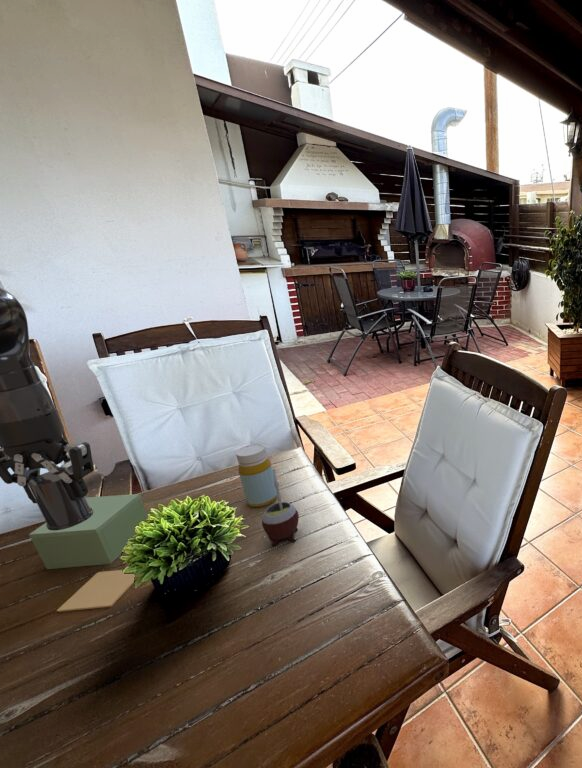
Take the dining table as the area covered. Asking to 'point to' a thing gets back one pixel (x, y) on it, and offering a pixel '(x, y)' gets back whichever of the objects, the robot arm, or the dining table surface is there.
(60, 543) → the block
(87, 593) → the coaster
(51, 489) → the holder
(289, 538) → the mate gourd
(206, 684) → the dining table surface
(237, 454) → the bottle
